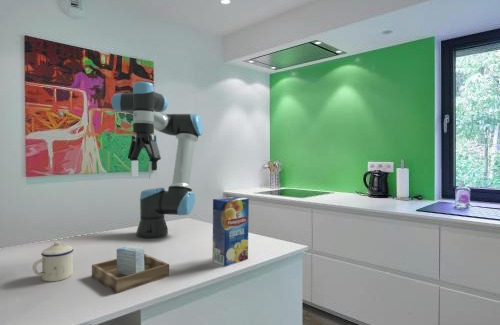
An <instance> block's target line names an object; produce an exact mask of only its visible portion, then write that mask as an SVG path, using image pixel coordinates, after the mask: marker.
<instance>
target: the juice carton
mask: <svg viewBox="0 0 500 325" xmlns="http://www.w3.org/2000/svg"><path fill="white" fill-rule="evenodd" d="M249 200H250V198H247V197H241V196H229V197H221V198H213V199H212V262H213V263H216V264H218V265H221V266H223V267H227V266H231V265H234V264H237V263H240V262H243V261H247V260H249V211H250V210H249V208H250V207H249V204H250V203H249Z"/></svg>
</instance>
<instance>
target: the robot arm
mask: <svg viewBox="0 0 500 325" xmlns="http://www.w3.org/2000/svg"><path fill="white" fill-rule="evenodd" d="M132 88H133V89H132V92H129V93H128V92H125V93H124V92H120V93H114V94H113V95H112V96H111V100H110V102H111V106H112V109H113V110H114V111H116V112H120V113H121V112H125V113H127V114H129V115H132V116H133V118H132V120H133V124H132V132H133V133H134V134H136V135H131V142H130V147H129V151H128V154H127V159H128V160H129V161H130V177H131V178H136V177H137V178H138V177H139V156H140V154H141V150H142V149H145V151H146V153H147V155H148V158H149V160H148V165H149V166H148V178H149V180H157V176H158V172H157V171H158V161H160V160H161V159H162V157H161V154H160V149H159V146H158V143H157V135H155V134H154V130H156V131H158V132H160V133H163V134H165V135H169V136H175V138H176V139H177V140H178V141H177V145H176V146H177V148H176V154H175V161H174V168H173V175H172V183H171V184H170V185H169V186H168V190H165V188H164V187H156V188H149V189H144V190H141V192H140V199H139V202H140V203H139V204H140V207H139V208H140V209H139V210H140V211H139V212H140V217H139V218H140V220H139V222H138V226H137V228H136V237H138V238H142V239H154V238H160V237H161V238H162V237H164V236H167V235H168V234H169V229H168V225H167V223H166V220H165V215H170V216H171V215H174V216H176V215H177V216H188V215H189V214H190V213H192V211H193V210H194V206H195V201H196V195H195V192H193V188H192V187H191V186H190V183H191V182H190V181H191V177H192V176H191V175H192V169H193V168H192V166H193V159H194V152H195V151H194V150H195V143H196V142H198V140H199V137H202V135H203V133H204V131H203V130H204V128H203V127H204V126H203V122H202V119H201V118H202V117H200V115H199V114H197V113H165V112H164V111H166V110H167V109H168V106H169V103H168V102H169V101H168V99H167V98H166V96H164V95H163V94H161V93H158V92H155V88H154V83H152V82H150V81H135V82H134V83H133V86H132Z"/></svg>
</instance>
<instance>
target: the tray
mask: <svg viewBox="0 0 500 325" xmlns="http://www.w3.org/2000/svg"><path fill="white" fill-rule="evenodd" d="M91 277H92V278H93V279H94V280H96V281H98V282H100V283H101V284H102V285H103V286H104V287H106V288H108V289H110V290H111V291H113V292H114V293H116V294H119V293H122V292H125V291H127V290H133V289H134V288H138V287H141V286H143V285H147V284H149V283H152V282H155V281H158V280H162V279H164V278H168V277H170V264H169V263H167V262H165V261H163V260H160V259H158V258H155V257H153V256H152V255H148V254H146V253H144V271H141V272H137V273H134V274H131V275H121V274H117V258H115V259H110V260H105V261H102V262H99V263H94V264H92V265H91Z"/></svg>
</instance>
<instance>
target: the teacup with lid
mask: <svg viewBox="0 0 500 325" xmlns="http://www.w3.org/2000/svg"><path fill="white" fill-rule="evenodd" d="M73 253H74V248H73V247H72V246H71V245H66V244H64V243H63V244H62V241H59V240H58V241H55V242H54V243H53V244H52V245H51V246H48V247H47V248H45V249H43V250H42V251H41V254H40V255H41V257H42V258H40V259H38V260H36V261H35V262H34V263H33V264H32V270H33V273H34V274H35V275H38V276H42V277H41V278H42V281H45V282H58V281H59V282H60V281H64V280H66V279H68V278H71V277H72V275H73V273H74V272H73V271H74V269H73V268H74V267H73V264H74V262H73V261H74V260H73V258H74V257H73ZM40 263H42V264H41V265H42V266H41V268H42V269H41V271H40V272H39V271H38V269H37V267H38V265H39V264H40Z"/></svg>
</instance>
